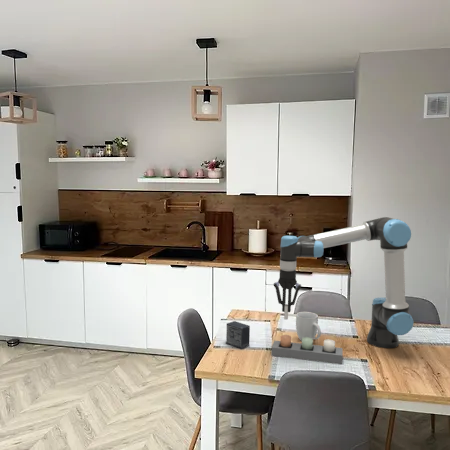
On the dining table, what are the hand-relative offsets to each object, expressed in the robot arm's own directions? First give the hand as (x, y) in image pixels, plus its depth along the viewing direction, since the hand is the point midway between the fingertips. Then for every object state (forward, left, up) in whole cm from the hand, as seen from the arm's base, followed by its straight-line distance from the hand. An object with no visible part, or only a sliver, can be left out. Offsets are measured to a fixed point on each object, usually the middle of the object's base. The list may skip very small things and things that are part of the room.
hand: (286, 318), depth 203 cm
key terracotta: (0, 0, -13) cm, 13 cm away
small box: (+24, -4, -17) cm, 30 cm away
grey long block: (-10, 0, -17) cm, 20 cm away
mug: (-9, -20, -17) cm, 28 cm away
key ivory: (-20, 0, -13) cm, 24 cm away
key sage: (-10, 0, -13) cm, 16 cm away
